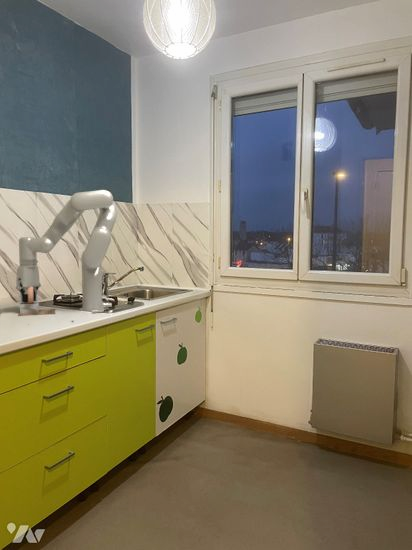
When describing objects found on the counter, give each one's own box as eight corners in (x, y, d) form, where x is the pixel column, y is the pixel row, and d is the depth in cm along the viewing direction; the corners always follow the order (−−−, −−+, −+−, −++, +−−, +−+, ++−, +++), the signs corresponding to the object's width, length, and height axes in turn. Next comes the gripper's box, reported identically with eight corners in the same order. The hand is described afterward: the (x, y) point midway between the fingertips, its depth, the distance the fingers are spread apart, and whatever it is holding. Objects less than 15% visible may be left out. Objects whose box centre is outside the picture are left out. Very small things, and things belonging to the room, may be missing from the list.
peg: (33, 304, 198) (33, 283, 198) (33, 305, 195) (33, 284, 194) (24, 304, 197) (24, 283, 196) (24, 305, 193) (23, 284, 192)
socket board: (55, 311, 204) (55, 300, 204) (55, 316, 191) (55, 305, 191) (20, 313, 199) (19, 302, 198) (17, 318, 186) (17, 307, 185)
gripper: (36, 262, 203) (37, 298, 205) (7, 263, 188) (8, 303, 190) (47, 262, 200) (48, 299, 202) (19, 264, 185) (20, 304, 187)
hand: (29, 301), depth 196 cm, fingers closed on peg, 4 cm apart
